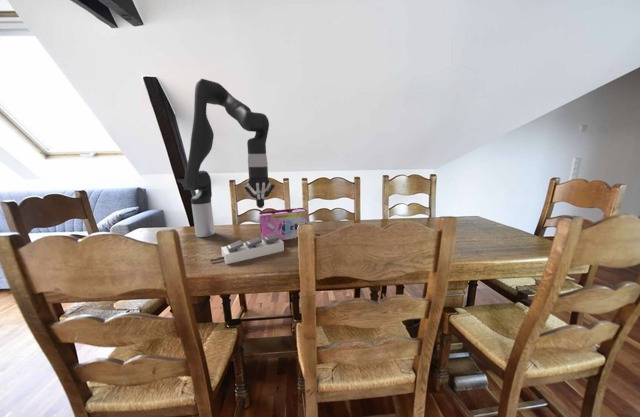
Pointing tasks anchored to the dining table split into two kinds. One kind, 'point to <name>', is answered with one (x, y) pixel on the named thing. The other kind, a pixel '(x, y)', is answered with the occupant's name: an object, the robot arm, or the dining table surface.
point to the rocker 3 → (270, 238)
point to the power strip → (250, 251)
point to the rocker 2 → (253, 242)
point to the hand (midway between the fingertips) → (260, 207)
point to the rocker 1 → (234, 246)
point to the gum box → (282, 222)
